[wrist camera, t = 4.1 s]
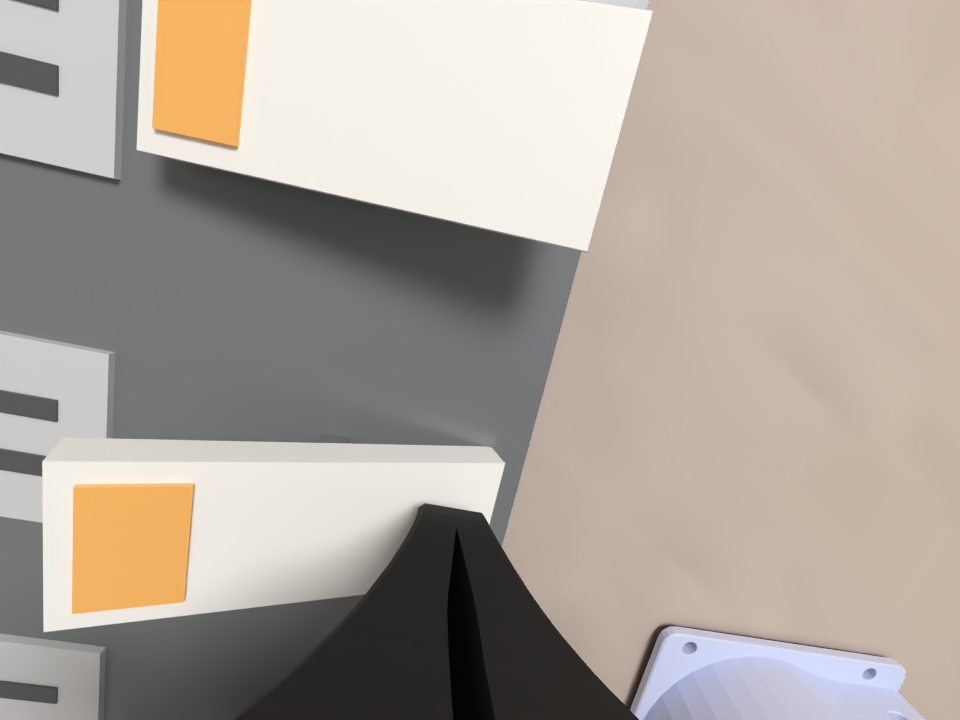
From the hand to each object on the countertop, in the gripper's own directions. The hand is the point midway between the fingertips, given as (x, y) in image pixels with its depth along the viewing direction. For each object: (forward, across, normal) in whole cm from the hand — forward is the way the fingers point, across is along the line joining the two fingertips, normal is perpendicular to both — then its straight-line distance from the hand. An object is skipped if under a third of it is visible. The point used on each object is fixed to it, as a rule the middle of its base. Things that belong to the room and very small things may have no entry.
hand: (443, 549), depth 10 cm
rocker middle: (0, +3, 0) cm, 3 cm away
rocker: (0, +3, -8) cm, 8 cm away
